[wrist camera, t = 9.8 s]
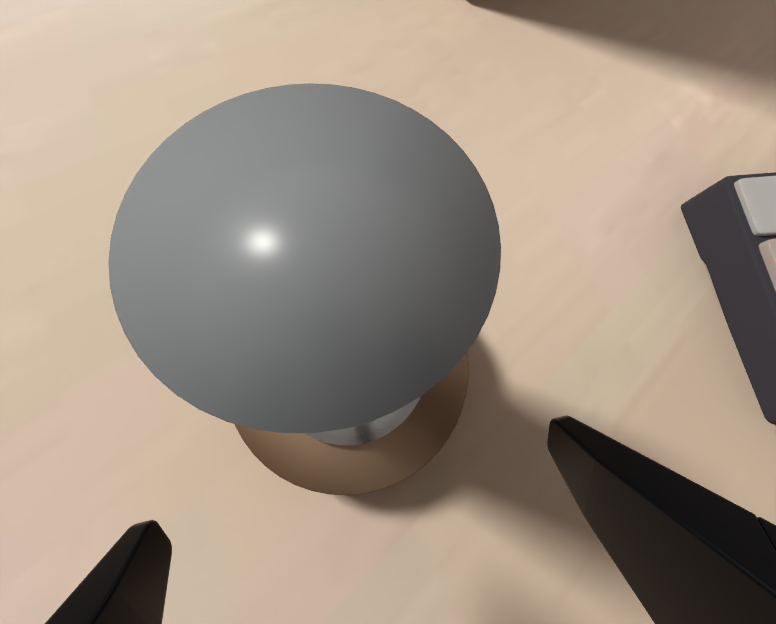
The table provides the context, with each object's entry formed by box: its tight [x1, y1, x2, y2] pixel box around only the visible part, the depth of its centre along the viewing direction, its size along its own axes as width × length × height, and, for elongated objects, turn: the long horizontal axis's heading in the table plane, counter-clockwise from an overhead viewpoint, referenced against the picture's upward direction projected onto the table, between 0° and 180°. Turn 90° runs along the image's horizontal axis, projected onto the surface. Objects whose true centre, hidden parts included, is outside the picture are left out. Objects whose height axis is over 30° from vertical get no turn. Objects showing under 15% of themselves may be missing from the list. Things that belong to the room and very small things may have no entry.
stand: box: [235, 352, 468, 495], centre depth 20 cm, size 12×12×3 cm
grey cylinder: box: [109, 84, 501, 445], centre depth 12 cm, size 8×8×13 cm
